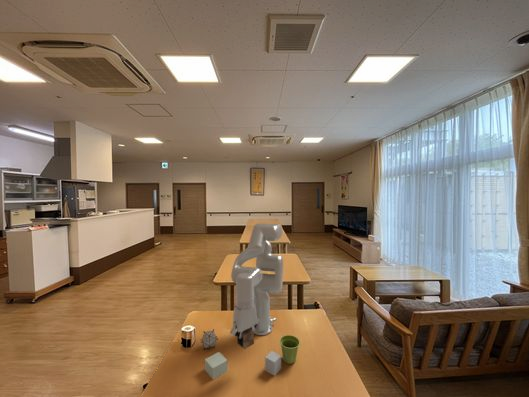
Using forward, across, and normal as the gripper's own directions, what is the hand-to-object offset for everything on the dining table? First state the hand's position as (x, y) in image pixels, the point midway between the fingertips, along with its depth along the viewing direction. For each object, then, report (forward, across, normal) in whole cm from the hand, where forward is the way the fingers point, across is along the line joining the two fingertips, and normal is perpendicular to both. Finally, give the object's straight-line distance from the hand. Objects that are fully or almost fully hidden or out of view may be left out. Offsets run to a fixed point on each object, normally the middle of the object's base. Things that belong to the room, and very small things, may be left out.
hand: (245, 341), depth 102 cm
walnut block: (+1, 0, 0) cm, 1 cm away
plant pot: (+13, -19, +8) cm, 24 cm away
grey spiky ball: (+13, +7, -23) cm, 27 cm away
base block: (+12, +11, -7) cm, 18 cm away
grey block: (+13, -9, +8) cm, 17 cm away
